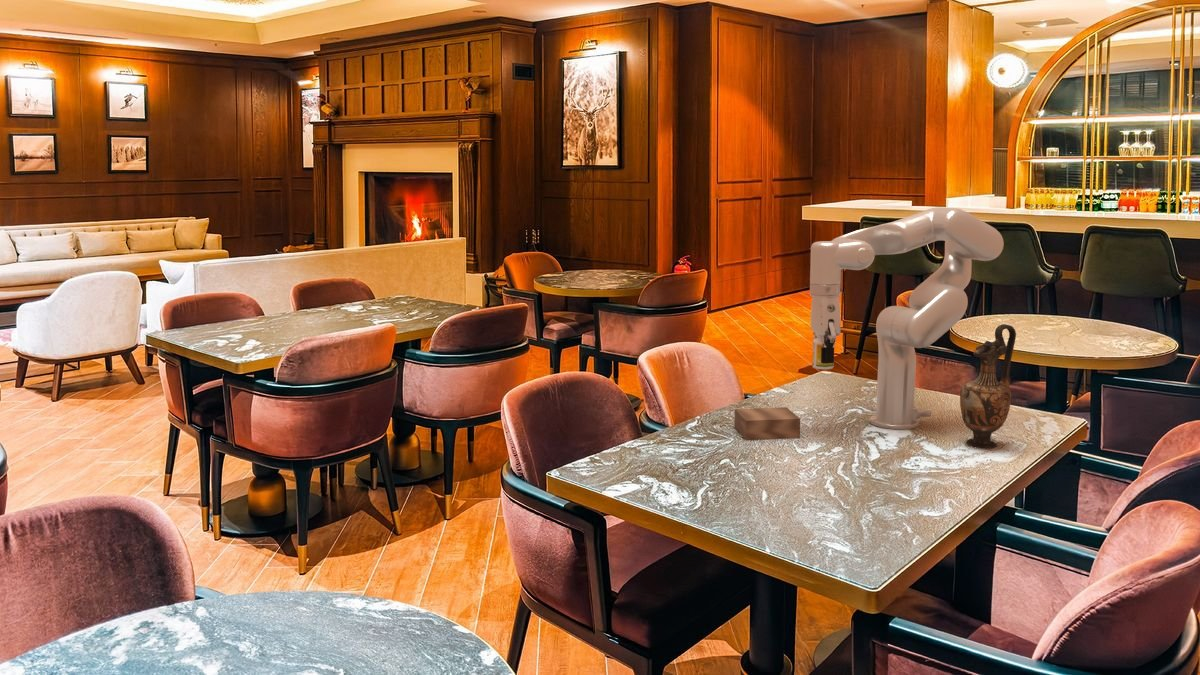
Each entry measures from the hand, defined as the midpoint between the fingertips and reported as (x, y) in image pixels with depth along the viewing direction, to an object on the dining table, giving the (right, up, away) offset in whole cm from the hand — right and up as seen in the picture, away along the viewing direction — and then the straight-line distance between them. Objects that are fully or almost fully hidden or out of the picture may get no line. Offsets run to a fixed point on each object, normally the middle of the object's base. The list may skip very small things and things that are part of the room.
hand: (823, 359), depth 244 cm
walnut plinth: (-14, -19, +3) cm, 24 cm away
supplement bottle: (0, -2, 0) cm, 2 cm away
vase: (+37, -21, -10) cm, 44 cm away
